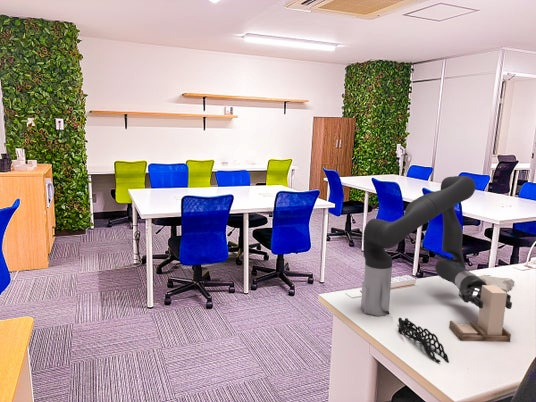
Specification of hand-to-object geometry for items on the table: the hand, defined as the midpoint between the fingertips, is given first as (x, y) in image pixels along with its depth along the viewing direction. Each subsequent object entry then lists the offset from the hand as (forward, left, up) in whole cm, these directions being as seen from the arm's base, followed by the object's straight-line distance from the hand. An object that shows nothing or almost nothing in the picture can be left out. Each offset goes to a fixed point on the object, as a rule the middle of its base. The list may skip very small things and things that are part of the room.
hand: (496, 305), depth 122 cm
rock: (+23, +44, -12) cm, 51 cm away
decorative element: (-24, -4, -12) cm, 27 cm away
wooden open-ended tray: (-3, +2, -12) cm, 12 cm away
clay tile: (-7, +2, -10) cm, 13 cm away
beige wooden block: (0, +2, -10) cm, 11 cm away
